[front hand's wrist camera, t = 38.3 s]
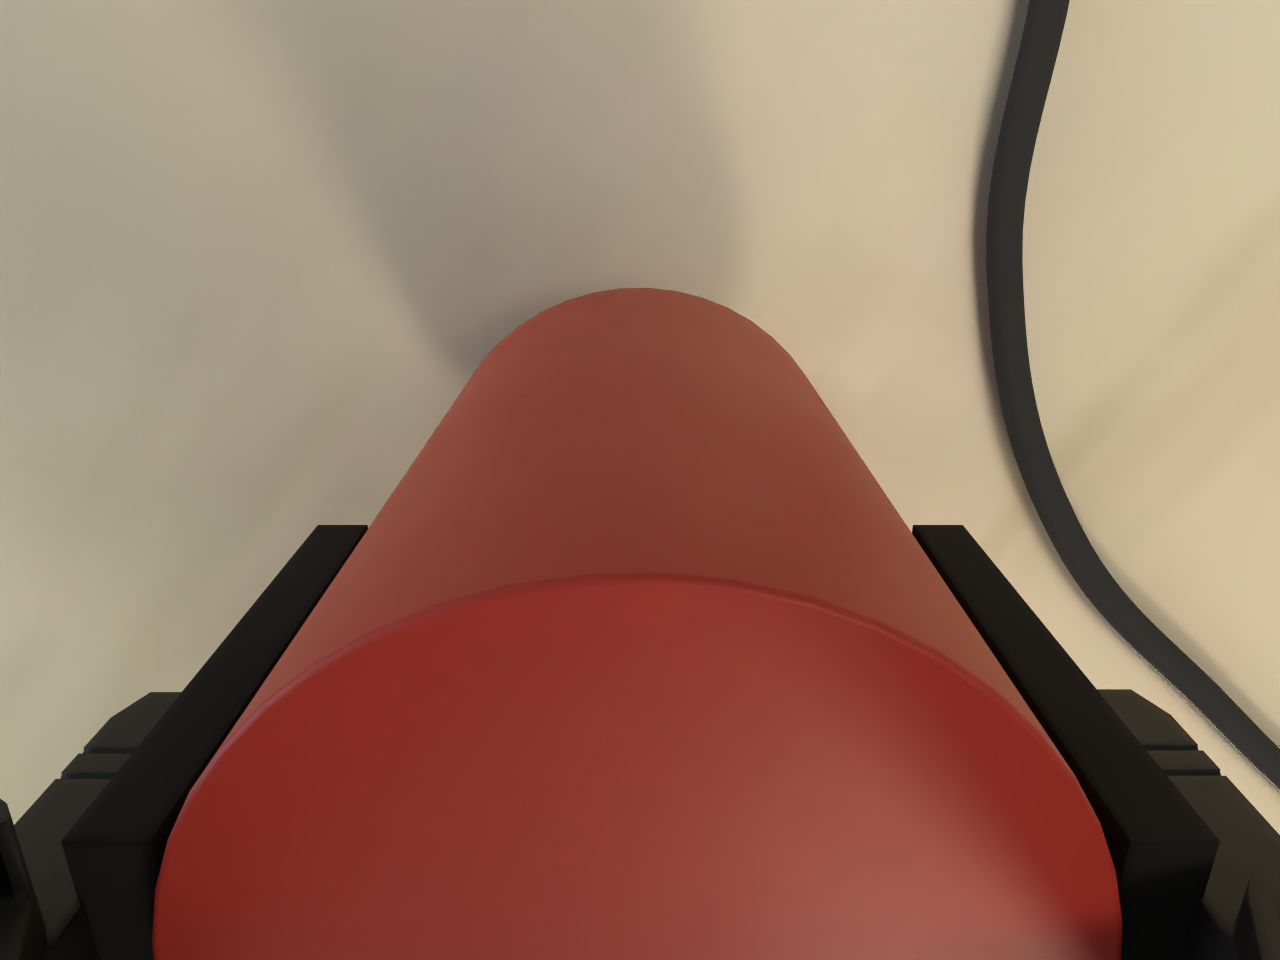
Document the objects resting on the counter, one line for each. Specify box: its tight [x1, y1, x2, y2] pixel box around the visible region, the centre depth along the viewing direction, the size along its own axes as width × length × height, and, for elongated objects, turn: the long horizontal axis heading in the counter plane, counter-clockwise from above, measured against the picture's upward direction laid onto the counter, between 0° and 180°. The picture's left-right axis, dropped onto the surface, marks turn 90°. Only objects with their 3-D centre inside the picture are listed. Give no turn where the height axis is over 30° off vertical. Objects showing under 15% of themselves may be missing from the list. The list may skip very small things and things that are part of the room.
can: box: [152, 288, 1123, 960], centre depth 14 cm, size 8×8×12 cm
